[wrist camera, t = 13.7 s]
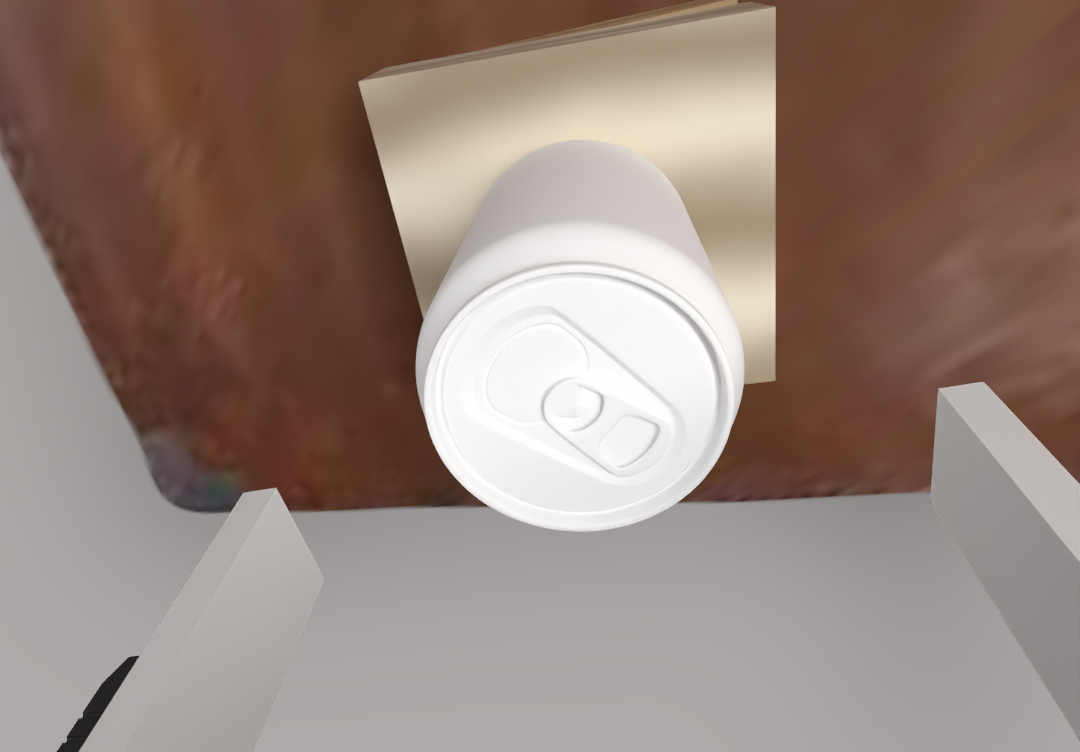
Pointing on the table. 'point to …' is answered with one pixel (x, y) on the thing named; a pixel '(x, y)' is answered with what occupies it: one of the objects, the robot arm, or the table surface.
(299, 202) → the table surface
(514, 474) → the beverage can
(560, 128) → the top slab
